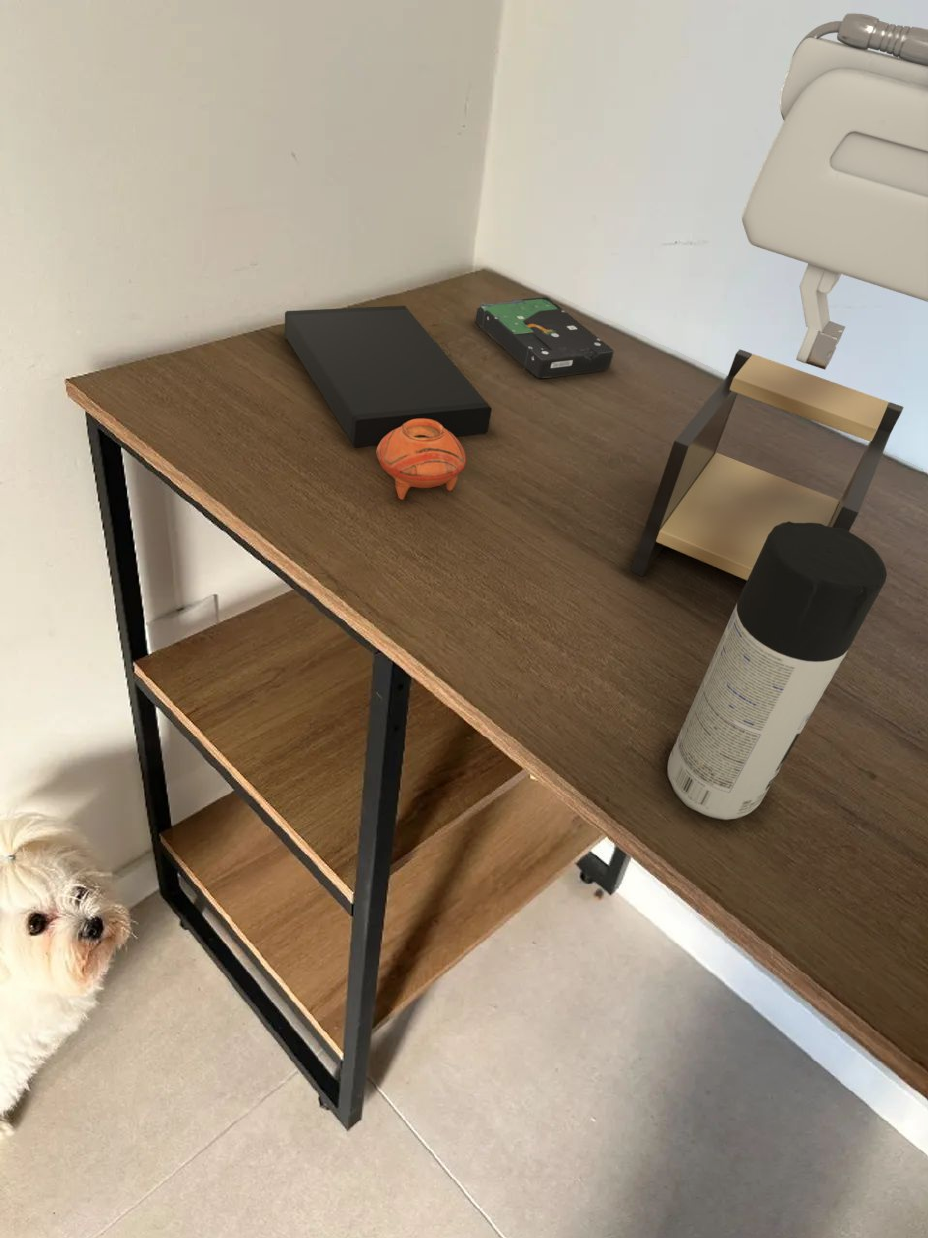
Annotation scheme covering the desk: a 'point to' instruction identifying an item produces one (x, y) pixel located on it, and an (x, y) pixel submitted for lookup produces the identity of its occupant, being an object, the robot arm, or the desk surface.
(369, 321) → the external hard drive
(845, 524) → the shelf
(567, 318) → the disk drive
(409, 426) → the pot
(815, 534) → the spray can
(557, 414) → the desk surface
